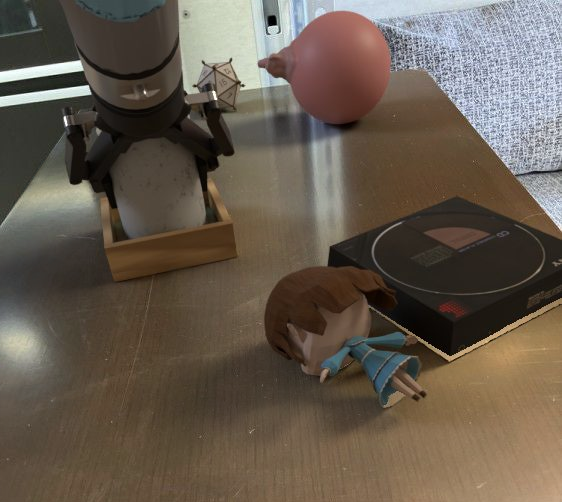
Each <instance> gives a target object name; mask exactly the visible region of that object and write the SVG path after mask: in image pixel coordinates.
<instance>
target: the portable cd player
mask: <svg viewBox="0 0 562 502" xmlns="http://www.w3.org/2000/svg"><path fill="white" fill-rule="evenodd" d="M327 257H328V258H327V265H326V266H327V267H335V268H339V267H347V266H353V267H356V268H358V269H360V270H371V271H373V272H374V273H376V274H378V275H380V276H381V278H382V279H383V281H384V283H385V285H386V287H387V288H388V289H391V290H395V291H396V292H395V295H394V297H395V299H396V301H397V305H396V306H395V308H394V309H393V310H392V311H386V310H383V309H381V308H379V307H377V306H376V305H374V304H372V303H370V302H367V303H368V305H370V306H371V307H373V308H374V309H375V310H377V311H379V312H381V314H383V315H385V316H387V317H388V318H390V319H391V320H393V321H395V322H396V323H397V324H399V325H401V326H402V327H404V328H406V329H408V331H410V332H412V333H413V334H415V335H416V336H418V337H420V338H421V339H423V340H424V341H426V342H428V344H431V345H432V346H434V347H435V348H437V349H439V350H441V351H442V352H444V353H446V354H447V355H449V356H452V355H454V354H456V353H458V352H460V351H462V350H464V349H466V348H467V347H470V346H472V345H473V344H476V343H477V342H479V341H481V340H483V339H485V338H487V337H489V336H490V335H493V334H494V333H496V332H498V331H500V330H501V329H503V328H504V327H506V326H507V325H510V324H512V323H514V322H516V321H517V320H519V319H522V318H523V317H525V316H528V315H529V314H531V313H534V312H536V311H537V310H539V309H541V308H542V307H544V306H546V305H548V304H550V303H552V302H554V301H556V300H558V299H560V298H562V239H561V238H559V237H556V236H555V235H552V234H550V233H546V232H544V231H542V230H540V229H537V228H535V227H533V226H530V225H527V224H525V223H523V222H520V221H519V220H516V219H514V218H511V217H508V216H506V215H504V214H501V213H499V212H496V211H494V210H492V209H489V208H487V207H485V206H482V205H480V204H477V203H475V202H472V201H471V200H468V199H466V198H463V197H461V196H458V195H456V196H453V197H451V198H448V199H446V200H443V201H441V202H438V203H436V204H433V205H430V206H428V207H426V208H423V209H420V210H418V211H416V212H413V213H410V214H408V215H405V216H402V217H400V218H398V219H394V220H393V221H390V222H388V223H385V224H383V225H380V226H377V227H375V228H372V229H369V230H368V231H364V232H362V233H360V234H357V235H354V236H352V237H349V238H346V239H344V240H342V241H339V242H337V243H334V244H331V245H329V247H328V256H327ZM385 291H386V290H385ZM386 292H387V291H386Z"/></svg>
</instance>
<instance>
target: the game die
mask: <svg viewBox="0 0 562 502" xmlns="http://www.w3.org/2000/svg"><path fill="white" fill-rule="evenodd" d="M232 62H233V57H230V58H229V59H228V61H224V62H212V63H206V61H205V60H204V59H201V64H202V65H203V67H202V70H201V73H200V74H199V77H198V80H197V83H194V84H193V85H191V87H193V88H197V90H198V93H201V91H202V86H203V85H204V84H207V83H213V84H214V85H215V88H216V92H217V96H218V100H219V104H220V108H221V109H225V108H226V109H227V108H229V109H230V108H232V110H233V111H235V112H237V107H236V106H235V105H236V103H237V99H238V96H239V94H240V91H241V88H245V87H246V84H244V83H242V80H240V79H239V78H238V75H237V73H236V71H235V69H234V67H233V65H232Z"/></svg>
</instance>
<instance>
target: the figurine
mask: <svg viewBox="0 0 562 502" xmlns="http://www.w3.org/2000/svg"><path fill="white" fill-rule="evenodd" d="M385 290H386V291H387V292H386V291H385ZM395 292H396V291H395V290H391V289H388V288H387V287H386V285H385V283H384V281H383V279H382V278H381V276H380V275H378V274H376V273H374V272H373V271H371V270H360V269H358V268H356V267H353V266H347V267H339V268H335V267H327V265H318V266H317V265H316V266H308V267H305V268H302V269H298V270H296V271H293V272H290V273H288V274H286V275H285V276H283V277H282V278H280V280H279V281H277V283H276V284H275V286H274V287H273V288H272V290H271V292H270V293H269V296H268V299H267V301H266V304H265V309H264V316H263V321H264V324H263V325H264V332H265V337H266V341H267V343H268V345H269V347H270V348H271V350H272V352H274V353H276V354H277V355H279V356H280V357H282V358H283V359H285V360H287V361H292V360H293V361H295V362H297V363H298V364H300V366H301V370H302V372H304V373H305V374H306V375H309V376H320V377H319V382H320V383H321V384H323V383H324V381H325V379H326V377H334V376H336V375H337V374H338V372H339V371H340V370H339V369H340V368H342V367H344V366H345V365H347V364H349V363H350V362H352V361H353V360H354V359H355V360H354V361H357V362H358V364H360V365H361V366H362V368H363V370H364V371H365V373H366V375H367V378H368V379H369V382H370V384H371V387H372V389H373V390H374V392H375V393H376V395H377V398H378V400H379V404H380V406H381V408H382V409H383V406H384V405H386V404H387V402H388V399H389V397H388V396H390V395H391V394H393V393H395V392H396V391H399V392H401V393H403V394H404V395H406V396H405V397H408V398H410V399H412V400H413V401H414V402H417V403H419V402H420V401H421V398H423V399H424V400H425V399H426V398H427V396H428V394H427V392H426V391H425V390H424V389H423V388H422V387H421V386H420V384H418V382H417V380H418V378H419V377H420V375H421V371H422V366H423V363H422V361H421V358H420V357H419V356H418V355H417V356H416V355H407V354H405V353H404V352H401V351H389V350H377V349H375V348H372V347H371V346H386V347H390V348H396V349H401V348H402V347H403V346H404V345H405V346H407V347H408V346H410V345H415V344H417V342H418V339H417V338H416V337H415V336H412V335H408V334H407V335H405V334H403V332H400V331H395V332H393V333H388V334H385V335H382V336H374V337H369V334H370V331H371V326H372V319H373V317H372V314H371V311H370V308H368V303H367V302H370V303H372V304H374V305H376V306H377V307H379V308H381V309H383V310H386V311H392V310H393V309H394V308H395V306H396V305H397V301H396V299H395V297H394V295H395ZM354 361H353V362H354ZM353 362H352V363H353ZM344 368H345V367H344ZM342 369H343V368H342ZM338 370H339V371H338ZM409 388H411V389H409Z"/></svg>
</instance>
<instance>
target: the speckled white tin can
mask: <svg viewBox="0 0 562 502" xmlns="http://www.w3.org/2000/svg"><path fill="white" fill-rule="evenodd" d="M190 116H191V115H190V114H189V115H188V116H187V117H188V118H189V119H190V120H191V117H190ZM95 133H96V135H97V137H98V136H99V134H100V133H101V130H99V129H98V128H97V127H96V129H95ZM108 173H109V177H110V181H111V185H112V188H113V192H114V196H115V199H116V203H117V207H118V210H119V214H120V218H121V221H122V225H123V229H124V232H125V236H126V240H131V239H136V238H141V237H146V236H151V235H156V234H161V233H167V232H172V231H177V230H182V229H187V228H192V227H197V226H202V225H207V224H209V223H208V221H207V216H206V210H205V205H204V199H203V193H202V188H201V182H200V177H199V171H198V165H197V160H196V154H194V153H193V152H191V151H190V150H189V149H187V148H186V147H184V146H183V145H181V144H180V143H178V144H174V143H172V142H171V141H169V140H168V139H166V138H165V137H163V138H157V139H146V140H143V141H140V142H134V143H133V144H132V145H131V146H130V148H129V149H128V151H127V152H126V153H125V154H123V153H121V154H120V155H119V157H118V158H117V160H116V161H115V162H114V164H113V165H112V167H111V168H110V169H109V171H108Z"/></svg>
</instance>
